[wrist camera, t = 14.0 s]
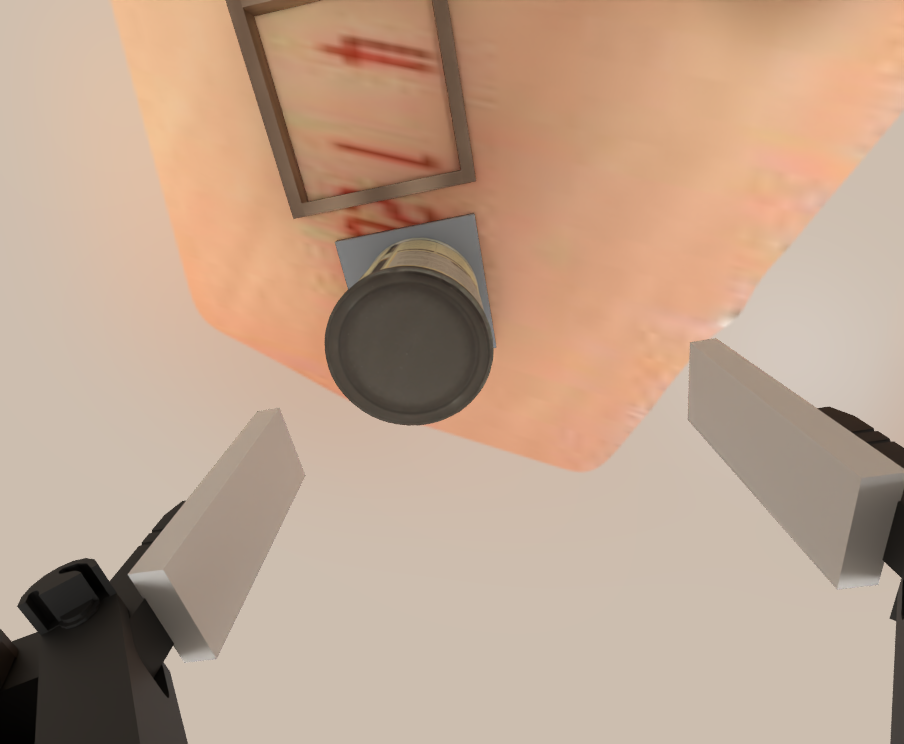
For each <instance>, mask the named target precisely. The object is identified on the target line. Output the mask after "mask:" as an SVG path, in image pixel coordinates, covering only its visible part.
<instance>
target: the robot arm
mask: <svg viewBox="0 0 904 744" xmlns="http://www.w3.org/2000/svg"><path fill="white" fill-rule="evenodd" d="M688 421H689V422H690V423H691V424H692V425H693V426H694V427H695V429H696V430H697V431H698V432H699V433H700V434H701V435H702V436H703V438H704V439H705V440H706V441H707V442H708V443H709V445H710V446H711V447H712V448H713V449H714V450H715V451H716V452H717V453H718V455H719V456H720V457H721V458H722V459H723V460H724V462H725V463H726V464H727V465H728V466H729V467H730V468H731V469H732V471H733V472H734V473H735V474H736V475H737V476H738V477H739V479H740V480H741V481H742V482H743V483H744V484H745V485H746V486H747V488H748V489H749V490H750V491H751V492H752V493H753V495H754V496H755V497H756V498H757V499H758V500H759V501H760V502H761V504H762V505H763V506H764V507H765V508H766V509H767V510H768V511H769V513H771V515H772V516H773V517H774V518H775V519H776V521H777V522H778V523H779V524H780V525H781V526H782V527H783V529H784V530H785V531H786V532H787V533H788V534H789V535H790V537H791V538H792V539H793V540H794V541H795V542H796V543H797V544H798V546H799V547H800V548H801V549H802V550H803V551H804V552H805V553H806V555H807V556H808V557H809V558H810V559H811V560H812V561H813V562H814V564H815V565H816V566H817V567H818V568H819V569H820V571H821V572H822V573H823V574H824V575H825V576H826V577H827V579H828V580H829V581H830V582H831V583H832V584H833V585H834V587H835V588H836V589H846V588H854V587H863V586H872V585H878V583H879V579H880V575H881V572H882V568H883V564H884V562H885V563H886V564H888V566H889V567H891V568H892V569H893V570H894V571H895V572H896V573H897V574H898V575H899V576H900V577H901V578H902V579H901V582H900V586H899V589H898V592H897V596H896V599H895V602H894V606H893V609H892V612H891V616H890V619H893V620H895V621H896V639H895V640H896V641H895V661H894V681H893V703H892V722H891V723H892V724H891V744H904V448H903V447H902V446H900V445H898V444H897V443H895V442H891V441H890V439H889V438H888V437H886V436H885V435H883V434H882V433H880V432H878V431H874V428H872V427H871V426H869V425H868V424H866V423H865V422H863V421H861V420H860V419H858V418H857V417H855V416H853V415H850V414H848V413H845V412H842V411H840V410H837V409H834V408H831V407H823V408H816V407H814V406H813V405H811V404H810V403H808V402H807V401H806V400H804V399H803V398H801V397H800V396H798V395H797V394H796V393H794V392H792V391H791V390H790V389H788V388H787V387H785V386H784V385H783V384H781V383H780V382H778V381H777V380H775V379H774V378H773V377H771V376H770V375H768V374H767V373H765V372H764V371H762V370H761V369H760V368H758V367H757V366H755V365H754V364H752V363H751V362H749V361H748V360H747V359H745V358H744V357H742V356H741V355H739V354H738V353H737V352H735V351H734V350H732V349H731V348H729V347H728V346H726V345H725V344H724V343H722V342H721V341H719V340H718V339H716V338H715V339H708V340H702V341H696V342H690V361H689V394H688ZM304 477H305V473H304V471H303V468H302V465H301V463H300V460H299V458H298V455H297V452H296V450H295V447H294V444H293V442H292V439H291V437H290V434H289V431H288V429H287V426H286V423H285V421H284V418H283V416H282V413H281V410H280V408H276V409H270V410H263V411H257V413H256V414H255V415H254V417H253V418H252V419H251V420H250V422H249V423H248V424H247V425H246V426H245V428H244V429H243V430H242V431H241V433H240V434H239V435H238V437H237V438H236V439H235V440H234V441H233V443H232V444H231V445H230V446H229V448H228V449H227V450H226V451H225V453H224V454H223V455H222V457H221V458H220V459H219V460H218V461H217V463H216V464H215V465H214V467H213V468H212V469H211V471H210V472H209V473H208V474H207V475H206V477H205V478H204V479H203V481H202V482H201V483H200V484H199V485H198V487H197V488H196V489H195V490H194V492H193V493H192V494H191V495H190V497H189V498H188V499H187V500H186V501H182V502H181V503H180V504H178V505H177V506H175V507H174V508H173V509H172V510H170V511H169V512H168V513H167V514H165V515H164V516H163V518H162V519H161V520H160V521H159V522H158V524H157V525H156V526H155V527H154V528H153V530H152V533H150V534H149V535H148V536H147V537H146V538H145V539H144V540H143V542H142V545H141V546H139V547H138V548H137V549H136V550H135V551H134V553H133V554H132V555H131V556H130V557H129V559H128V560H127V561H126V562H125V563H124V565H123V566H122V567H121V568H120V570H119V571H118V572H117V573H116V574H115V576H114V577H113V578H112V579H111V580H110V582H109V580H108V579H107V578H106V576H105V574H104V573H103V571H102V570H101V568H100V567H99V565H98V564H97V562H96V561H95V560H94V559H88V558H85V559H80V560H75V561H72V562H70V563H67V564H65V565H63V566H61V567H58V568H57V569H55V570H53V571H52V572H50V573H48V574H47V575H45V576H44V577H43V578H41V579H40V580H39V581H37V582H36V583H35V584H33V585H32V586H31V587H30V588H29V589H28V590H27V592H26V593H25V594H24V595H23V596H22V597H21V599H20V602H19V604H18V606H17V607H18V608H19V609H20V610H21V611H22V613H23V614H24V615H25V617H26V618H27V619H28V620H29V622H30V623H31V624H32V625H33V626H34V628H35V629H36V630H37V631H38V632H36V633H34V634H31V635H28V636H26V637H23V638H20V639H17V640H15V641H12V642H11V641H10V639H9V638H8V637H7V636H6V635H5V633H4V632H3V631H2V630H1V629H0V744H188V742H187V739H186V734H185V730H184V726H183V722H182V718H181V714H180V710H179V706H178V702H177V698H176V694H175V690H174V686H173V682H172V678H171V674H170V671H169V670H168V668H167V667H166V665H165V664H164V660H165V658H166V657H167V655H168V653H169V651H170V650H171V648H172V646H174V647H175V649H176V650H177V652H178V653H179V655H180V657H181V658H182V660H183V661H184V663H186V662H195V661H204V660H213V659H217V657H218V655H219V653H220V651H221V649H222V646H223V645H224V643H225V640H226V638H227V636H228V634H229V632H230V630H231V628H232V626H233V624H234V622H235V619H236V618H237V616H238V614H239V612H240V609H241V607H242V605H243V603H244V601H245V599H246V597H247V595H248V593H249V591H250V589H251V587H252V585H253V583H254V581H255V578H256V576H257V574H258V572H259V570H260V568H261V566H262V564H263V562H264V560H265V558H266V556H267V554H268V552H269V549H270V547H271V545H272V543H273V541H274V539H275V537H276V535H277V533H278V531H279V529H280V527H281V525H282V523H283V521H284V519H285V516H286V514H287V512H288V510H289V508H290V506H291V504H292V502H293V500H294V498H295V496H296V494H297V492H298V490H299V488H300V486H301V483H302V481H303V479H304Z"/></svg>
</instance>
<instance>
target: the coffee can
mask: <svg viewBox="0 0 904 744" xmlns="http://www.w3.org/2000/svg"><path fill="white" fill-rule="evenodd" d="M325 353H326V359H327V363H328V367H329V370H330V373H331V375H332V377H333V379H334V381H335V383H336V384H337V386H338V387H339V389H340V390H341V391H342V393H343V394H344V395H345V396H346V397H347V398H348V399H349V400H350V401H351V402H352V403H353V404H354V405H356V406H357V407H358V408H360V409H361V410H362V411H364V412H365V413H367V414H369V415H371V416H372V417H375V418H377V419H379V420H383V421H386V422H389V423H394V424H400V425H424V424H430V423H434V422H438V421H441V420H444V419H446V418H448V417H450V416H452V415H454V414H456V413H458V412H460V411H461V410H462V409H463V408H465V407H466V406H467V405H468V404H469V403H471V401H472V400H473V399H474V398H475V397H476V396H477V395H478V393H479V392H480V391H481V389H482V388H483V386H484V384H485V382H486V380H487V378H488V376H489V373H490V369H491V365H492V361H493V337H492V332H491V328H490V325H489V322H488V319H487V317H486V315H485V313H484V309H483V306H482V301H481V298H480V294H479V289H478V283H477V280H476V277H475V274H474V272H473V270H472V268H471V266H470V265H469V263H468V261H467V260H466V259H465V258H464V257H463V256H462V255H461V254H460V253H459V252H458V251H457V250H455V249H454V248H452V247H451V246H449V245H448V244H445V243H443V242H440V241H437V240H434V239H429V238H410V239H405V240H402V241H399V242H397V243H395V244H393V245H391V246H389V247H388V248H386V249H385V250H384V251H382V252H381V253H380V254H379V255H378V256H377V258H376V259H375V260H374V262H373V263H372V265H371V267H370V268H369V269H368V270H367V272H366V273H365V274H364V275H363V276H362V277H361V278H360V280H359V281H358V282H357V283H355V284H354V285H353V286H352V287H351V288H349V289H348V290H347V291H346V293H345V294H344V295H343V296H342V297H341V298H340V300H339V301H338V302H337V304H336V306H335V307H334V309H333V311H332V313H331V315H330V317H329V321H328V324H327V328H326V333H325Z"/></svg>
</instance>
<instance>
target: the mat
mask: <svg viewBox="0 0 904 744" xmlns="http://www.w3.org/2000/svg"><path fill="white" fill-rule="evenodd" d="M410 238H429V239H434V240H437V241H440V242H443V243H445V244H448V245H449V246H451V247H452V248H454V249H455V250H457V251H458V252H459V253H460V254H461V255H462V256H463V257H464V258H465V259H466V260H467V261H468V263H469V265H470V266H471V268H472V270H473V272H474V274H475V277H476V280H477V283H478V289H479V294H480V298H481V301H482V306H483V309H484V313H485V315H486V317H487V319H488V322H489V325H490V328H491V332H492V337H493V348H496V342H495V336H494V330H493V324H492V318H491V312H490V306H489V300H488V293H487V287H486V281H485V275H484V269H483V263H482V257H481V251H480V245H479V238H478V232H477V226H476V220H475V214H474V213H472V214H467V215H462V216H457V217H452V218H447V219H442V220H437V221H432V222H427V223H422V224H417V225H413V226H408V227H403V228H398V229H393V230H388V231H383V232H378V233H373V234H368V235H363V236H358V237H353V238H348V239H343V240H338V241H336V242H335V244H336V248H337V251H338V255H339V258H340V262H341V266H342V269H343V273H344V276H345V280H346V283H347V287H348V289H349V288H351V287H352V286H353V285H354V284H355V283H357V282H358V281H359V280H360V278H361V277H362V276H363V275H364V274H365V273H366V272H367V270H368V269H369V268H370V267H371V265H372V263H373V262H374V260H375V259H376V258H377V256H378V255H379V254H380V253H381V252H382V251H384V250H385V249H386V248H388V247H389V246H391V245H393V244H395V243H397V242H399V241H402V240H405V239H410Z"/></svg>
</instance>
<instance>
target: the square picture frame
mask: <svg viewBox="0 0 904 744" xmlns="http://www.w3.org/2000/svg"><path fill="white" fill-rule="evenodd" d="M316 1H320V0H226V3H227V6H228V10H229V13H230V16H231V19H232V22H233V26H234V29H235V32H236V35H237V39H238V42H239V45H240V48H241V51H242V55H243V58H244V61H245V64H246V68H247V71H248V74H249V77H250V80H251V84H252V87H253V90H254V93H255V96H256V100H257V103H258V106H259V109H260V113H261V116H262V119H263V122H264V125H265V129H266V132H267V135H268V138H269V141H270V145H271V148H272V151H273V154H274V158H275V161H276V164H277V167H278V170H279V174H280V177H281V180H282V183H283V186H284V190H285V193H286V196H287V199H288V203H289V206H290V209H291V212H292V215H293V219H295V218H300V217H304V216H309V215H314V214H319V213H324V212H329V211H334V210H338V209H343V208H348V207H353V206H358V205H363V204H368V203H372V202H377V201H382V200H387V199H392V198H397V197H402V196H406V195H411V194H416V193H421V192H426V191H431V190H435V189H440V188H445V187H450V186H455V185H460V184H465V183H469V182H474V181H476V178H475V171H474V165H473V159H472V153H471V146H470V140H469V134H468V127H467V121H466V115H465V108H464V102H463V96H462V89H461V83H460V77H459V70H458V64H457V58H456V51H455V45H454V39H453V32H452V26H451V20H450V13H449V7H448V1H447V0H432V3H433V9H434V15H435V21H436V27H437V33H438V39H439V45H440V51H441V56H442V62H443V68H444V74H445V80H446V86H447V92H448V98H449V104H450V110H451V116H452V122H453V128H454V134H455V139H456V145H457V151H458V157H459V163H460V169H461V170H459V171H455V172H450V173H445V174H440V175H435V176H430V177H426V178H421V179H416V180H411V181H406V182H402V183H397V184H392V185H387V186H382V187H378V188H373V189H368V190H363V191H358V192H354V193H349V194H344V195H339V196H334V197H330V198H325V199H320V200H315V201H310V202H308V199H307V195H306V192H305V189H304V185H303V182H302V178H301V175H300V172H299V168H298V165H297V161H296V158H295V155H294V151H293V148H292V144H291V141H290V138H289V134H288V131H287V127H286V124H285V121H284V117H283V114H282V111H281V107H280V104H279V100H278V97H277V94H276V90H275V87H274V83H273V80H272V77H271V73H270V70H269V66H268V63H267V60H266V56H265V53H264V49H263V46H262V43H261V39H260V36H259V32H258V29H257V26H256V22H255V19H254V16H257V15H261V14H266V13H270V12H274V11H278V10H282V9H287V8H291V7H295V6H299V5H303V4H307V3H312V2H316Z"/></svg>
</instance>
